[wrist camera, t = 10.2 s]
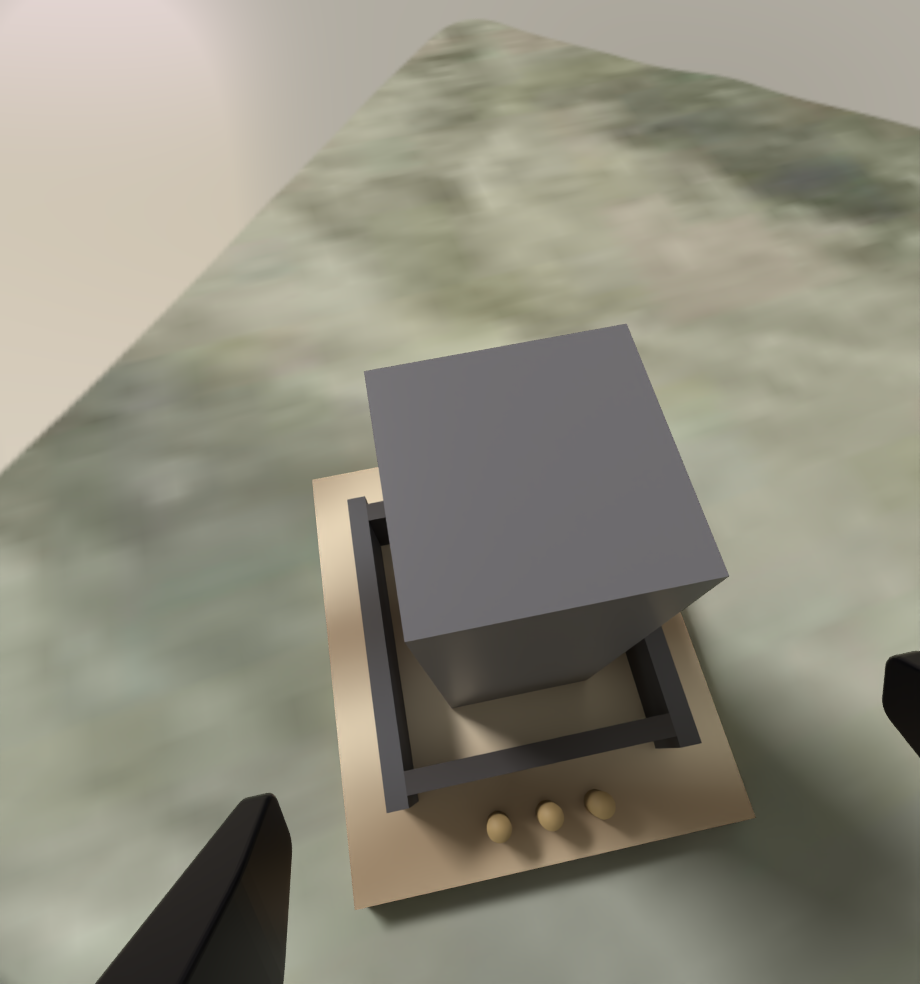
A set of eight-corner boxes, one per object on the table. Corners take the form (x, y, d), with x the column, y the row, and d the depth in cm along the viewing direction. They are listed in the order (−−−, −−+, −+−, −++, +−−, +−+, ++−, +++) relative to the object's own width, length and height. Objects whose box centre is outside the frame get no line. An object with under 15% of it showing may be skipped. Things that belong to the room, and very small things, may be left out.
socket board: (741, 814, 18) (797, 827, 15) (361, 902, 17) (333, 935, 14) (606, 434, 24) (625, 385, 20) (318, 490, 23) (292, 448, 20)
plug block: (586, 680, 19) (729, 576, 8) (451, 708, 18) (404, 642, 8) (551, 551, 21) (626, 323, 10) (428, 576, 20) (363, 371, 9)
